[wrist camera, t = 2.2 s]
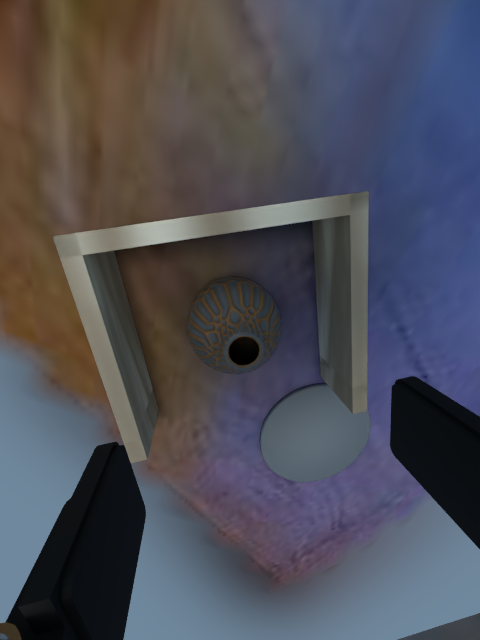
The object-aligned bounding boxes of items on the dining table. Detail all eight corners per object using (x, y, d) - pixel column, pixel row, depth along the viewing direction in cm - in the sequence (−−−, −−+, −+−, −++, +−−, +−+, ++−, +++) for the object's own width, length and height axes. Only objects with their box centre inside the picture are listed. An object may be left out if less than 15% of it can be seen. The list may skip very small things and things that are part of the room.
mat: (367, 372, 28) (371, 375, 27) (367, 463, 32) (370, 467, 31) (252, 396, 27) (254, 400, 26) (266, 487, 31) (267, 492, 30)
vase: (197, 262, 22) (196, 279, 14) (276, 281, 24) (318, 307, 15) (181, 340, 24) (172, 396, 16) (255, 353, 25) (283, 411, 17)
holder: (325, 202, 22) (368, 190, 17) (332, 374, 27) (367, 410, 22) (93, 235, 21) (52, 236, 15) (146, 412, 26) (130, 463, 20)
